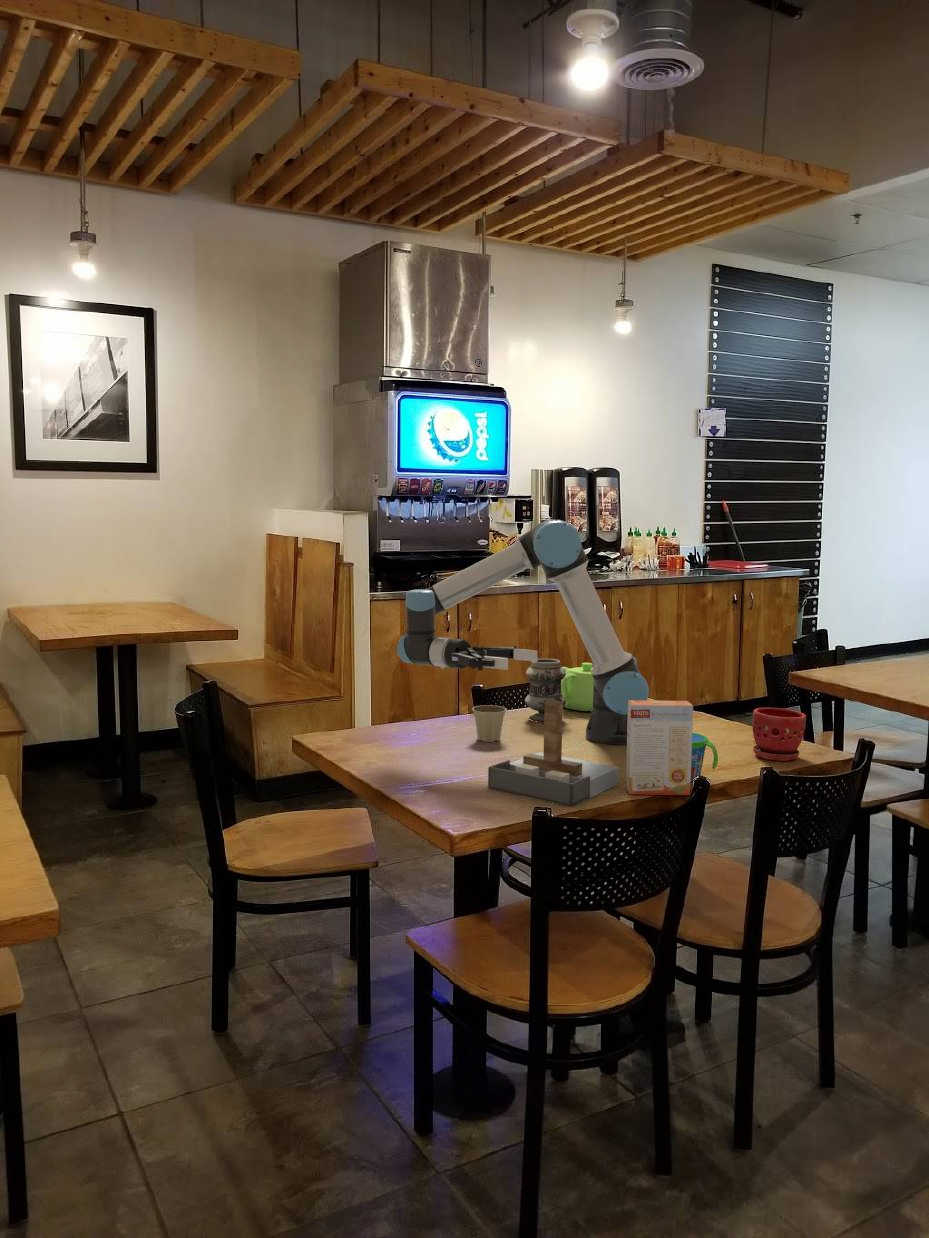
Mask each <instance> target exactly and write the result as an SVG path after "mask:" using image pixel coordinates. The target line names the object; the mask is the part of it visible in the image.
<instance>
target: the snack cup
mask: <svg viewBox="0 0 929 1238" xmlns="http://www.w3.org/2000/svg"><path fill="white" fill-rule="evenodd" d="M706 747H709V748H711V750H712V754H713V760H712V761H713V762H712V770H715V769H716V768H717V765H718V762H719V756H718V755H719V754H718V751H717V748H716V746H715V744H713V742H711V741H710V740H709V739H708V737H707V736H706V735H703V734H701V733H698V732H697V733H696V732H692V756H691V782H694V781H693V779H694V778H695V777H697V776H700V777H701V775H702V768H703V764H704V759H705V752H706Z"/></svg>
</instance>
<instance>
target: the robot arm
mask: <svg viewBox="0 0 929 1238" xmlns="http://www.w3.org/2000/svg"><path fill="white" fill-rule="evenodd" d="M581 539H582V537H581V535H580V533H579V532H578V530H577V529H576V528H575V526H573V525H572V524H571V523H569V522H567V521H565V520H561V519H546V520H543V521H541V522H540V523H538V524H537V525H535V526H534V527H533V528H531V529H530V530H529V531H527V532H525V533H524V534H522V535H520V536H518V537H516V539H515V542H514V543H512V544H510V545H509V546H507V547H505V548H503V549H501V550H499V551H498V552H495V553H493V554H491V555H490V556H487V557H486V558H484V559H481V560H480V561H478V562H475V563H473V564H472V565H470V566H468V567H466V568H464V569H461V570H460V571H459V572H457V573H454V574H453V575H451V576H449V577H447V578H444V579H443V580H440V581H439V582H437V583H435V584H433V585H432V586H430V587H427V588H426V589H412V590H408V591H407V592H406V593H405V620H406V621H405V622H406V623H405V624H406V632H405V633H406V634H404V635H402V636H400V637H399V639H398V645H397V646H396V647H397V648H396V650H397V651H396V652H397V656H398V657H399V659H400V660H401V661H402V662H403V663H408V664H413V665H416V666H417V665H418V666H419V665H420V666H421V665H422V666H431V667H440V669H441V670H444V669H445V668H451V669H456V670H457V669H458V670H462V669H465V668H470V669H476V668H477V671H479V672H481V671H483V669H484V668H485V669H492V670H504V671H508V670H509V659H511V660H512V659H513V660H516V661H525V662H532V661H534V662H537V659H538V650H535V649H523V648H519V647H518V646H517V645H513V646H480V647H479V645H477V646H476V645H475V646H471V644H470V643H469V641H468V640H466V639H463V638H462V639H461V638H452V637H443V636H442V637H440V636H438V637H437V636H436V616H437V615H439V614H441V613H443V612H444V611H447V610H448V609H451V608H452V607H454V606H455V605H456V606H457V605H458V604H459V603H461V602H463V601H464V602H465V600H467V599H469V598H472V597H474V596H476V595H478V594H479V593H482V592H483V591H486V590H487V589H489V588H492V587H493V586H495V585H497V584H499V583H501V582H503V581H505V580H507V579H509V578H511V577H513V576H515V575H517V574H519V573H521V572H523V571H525V570H526V569H530V570H532V571H533V570H535V569H536V568H539V567H540V566H541V568H542V570H543V572H544V574H545V577H546V578H547V580H548V581H550V582H553V583H555V584H556V586H557V589H558V591H559V593H560V596H561V597H562V600H563V602H564V604H565V606H566V608H567V610H568V612H569V614H570V617H571V619H572V622H573V623H574V626H575V627H576V630H577V632H578V634H579V636H580V638H581V640H582V642H583V645H584V647H585V648H586V651H587V653H588V655H589V658H590V660H591V663H592V664H593V666H592V671H591V674H592V676H593V678H594V685H593V711H591V714H590V716H589V718H588V719H589V720H588V722H587V725H586V728H585V739H587V740H589V741H592V742H595V743H598V744H599V743H601V744H607V745H608V744H609V745H627V722H628V701H629V700H648V698H649V693H650V691H649V690H650V689H649V685H648V682H647V680H646V679H645V677H644V676H643V675H642V674H641V672H640V670H639V668H638V664H637V663H638V662H637V661H638V660H637V657H635V656H633V655H632V653H629V652H626V651H625V650H624V648H623V646H622V645H621V642H620V639H619V638H618V636H617V634H616V631H615V629H614V627H613V625H612V623H611V620H610V619H609V616H608V614H607V611H606V610H605V608H604V605H603V603H602V601H601V598H600V596H599V595H598V592H597V590H596V588H595V586H594V583H593V581H592V579H591V577H590V574H589V573H588V569H587V567H588V563H589V558H588V556H587V554H586V552H585V550H584V548H583V546H582V540H581Z"/></svg>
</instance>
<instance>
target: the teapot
mask: <svg viewBox="0 0 929 1238" xmlns="http://www.w3.org/2000/svg"><path fill="white" fill-rule="evenodd" d="M561 667H562V668H563V669H564V670H565V673H566V675H565V677H564V678H563V679H562V680H561V693H562V695H563V696H564V698H565V700H566V703H565V705H564V706H563V708H566V709H569V710H573V711H579V712H580V711H581V712H583V711H590V712H592V711H593V685H594V678H593V676H592V674H591V671H592V668H593V662H582V663H581V666H580V667H579V666H578V667H577V666H576V667H572V668H569V667H566V666H561Z"/></svg>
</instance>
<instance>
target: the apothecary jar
mask: <svg viewBox="0 0 929 1238" xmlns="http://www.w3.org/2000/svg"><path fill="white" fill-rule="evenodd" d="M562 667H563V666H561V661H560V660H559V659H557V658H537V662H534V661H531V663H530V666H529V667H528V668H527V669H526V671H525V674H526V677H527V678H528V679H529V692H528V693H529V694H527V696H526V697H525V699H524V702H525V705H527V707H529V708H530V709H531V710H534V711H537V712H538V713H537V712H536V713H534V714H532V715H530V716H529V717H528V720H529V719H531V720H533V721H537V722H536V723H539V722H544V713H545V702H547V701H550V700H554V701H561V702H563V706H564V705H565V703H566V700H565V698H564V696H563V695H562V693H561V680H562V679H563V678H564V677H565V675H566V673H565V670H564V669H563V668H562ZM533 721H532V722H533Z"/></svg>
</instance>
